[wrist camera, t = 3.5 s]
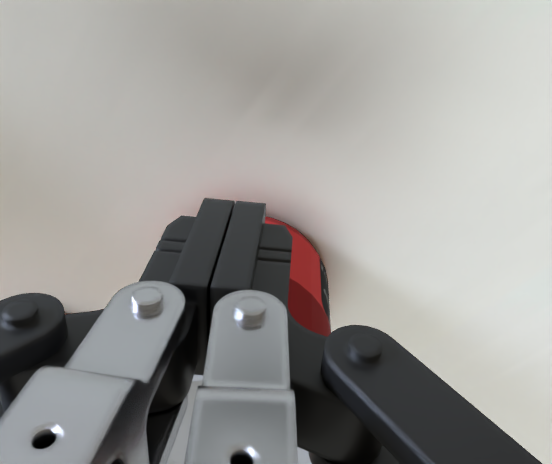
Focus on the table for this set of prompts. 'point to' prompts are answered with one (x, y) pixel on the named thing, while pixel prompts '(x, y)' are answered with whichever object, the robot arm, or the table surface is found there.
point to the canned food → (302, 306)
